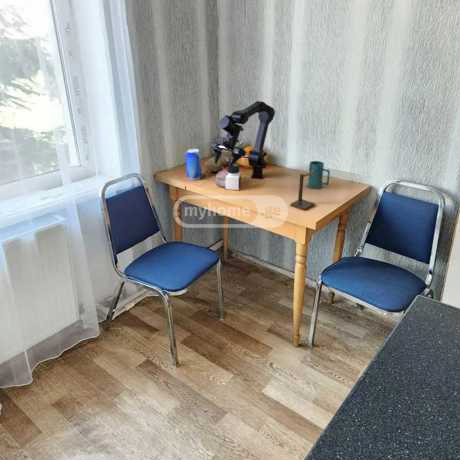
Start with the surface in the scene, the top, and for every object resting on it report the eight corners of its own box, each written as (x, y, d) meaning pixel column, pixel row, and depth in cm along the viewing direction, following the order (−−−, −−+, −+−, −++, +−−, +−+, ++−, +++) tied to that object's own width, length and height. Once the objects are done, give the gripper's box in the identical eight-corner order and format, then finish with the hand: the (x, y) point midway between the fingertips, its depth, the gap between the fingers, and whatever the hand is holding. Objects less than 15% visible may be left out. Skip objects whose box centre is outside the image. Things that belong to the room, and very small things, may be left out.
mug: (305, 186, 210) (307, 163, 204) (312, 183, 214) (314, 160, 209) (323, 192, 202) (326, 168, 197) (331, 188, 207) (334, 164, 201)
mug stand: (290, 205, 187) (292, 176, 181) (309, 196, 197) (312, 168, 191) (304, 210, 182) (306, 181, 176) (323, 200, 192) (326, 172, 186)
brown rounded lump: (215, 164, 248) (196, 166, 232) (218, 152, 246) (199, 154, 229) (232, 172, 243) (213, 174, 226) (235, 160, 240) (217, 161, 223)
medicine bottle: (238, 190, 205) (238, 168, 200) (225, 189, 206) (225, 167, 201) (241, 185, 211) (241, 164, 206) (228, 184, 212) (228, 163, 207)
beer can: (204, 176, 225) (203, 149, 218) (198, 181, 218) (197, 153, 211) (190, 174, 228) (189, 147, 221) (184, 179, 220) (182, 151, 214)
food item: (228, 189, 206) (228, 171, 202) (214, 187, 209) (214, 169, 205) (238, 181, 217) (238, 164, 213) (225, 179, 220) (225, 162, 216)
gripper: (209, 127, 195) (199, 156, 194) (239, 132, 184) (228, 163, 184) (221, 135, 204) (211, 163, 204) (250, 141, 194) (240, 170, 193)
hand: (222, 165), depth 196 cm, fingers open, 9 cm apart
